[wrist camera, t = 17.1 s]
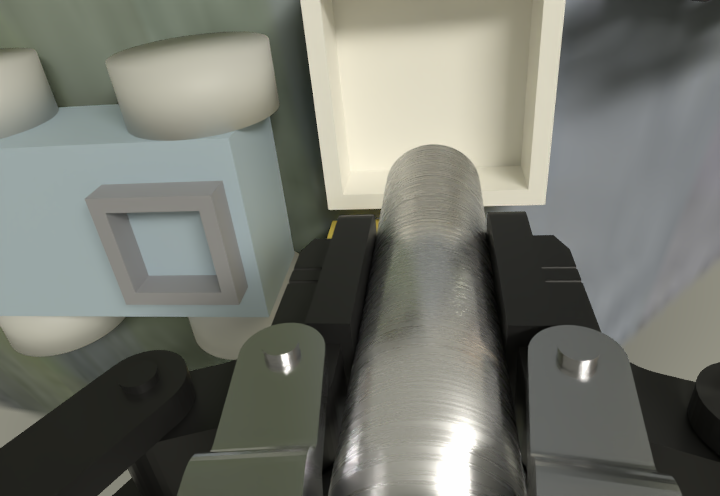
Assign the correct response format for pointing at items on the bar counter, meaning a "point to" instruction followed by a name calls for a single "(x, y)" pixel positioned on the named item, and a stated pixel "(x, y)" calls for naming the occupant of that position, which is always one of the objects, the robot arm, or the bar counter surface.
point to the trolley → (144, 197)
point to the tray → (434, 90)
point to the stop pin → (430, 347)
